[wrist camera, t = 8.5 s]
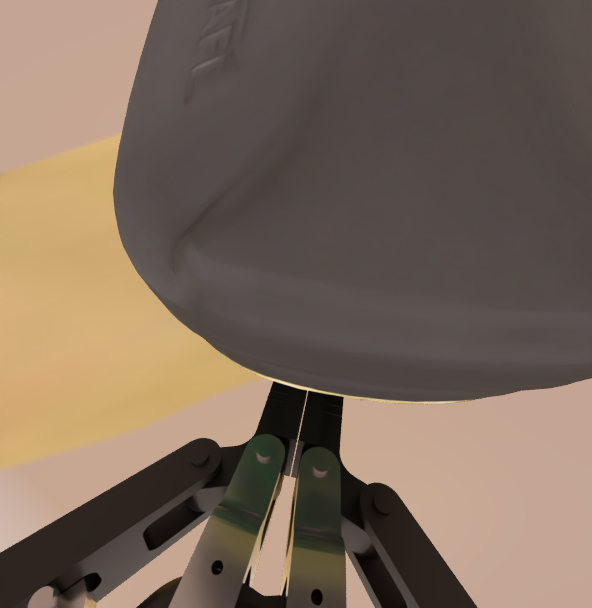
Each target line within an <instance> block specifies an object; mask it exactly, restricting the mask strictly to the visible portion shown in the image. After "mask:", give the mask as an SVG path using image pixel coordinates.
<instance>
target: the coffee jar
mask: <svg viewBox="0 0 592 608" xmlns="http://www.w3.org/2000/svg"><path fill="white" fill-rule="evenodd" d="M113 197H114V207H115V215H116V220H117V225H118V230H119V234H120V237H121V241H122V244H123V247H124V249H125V250H126V252H127V254H128V256H129V258H130V260H131V262H132V264H133V266H134V267H135V269H136V271H137V272H138V274H139V275H140V276H141V278H142V279H143V280H144V281H145V283H146V284H147V285H148V286H149V288H150V289H151V290H152V291H153V292H154V294H155V295H156V296H157V297H158V298H159V299H160V301H161V302H162V303H163V304H164V305H165V306H166V308H167V309H168V310H169V311H170V312H171V313H172V314H173V315H174V316H175V317H176V318H177V319H178V320H179V321H180V322H182V323H183V324H184V325H185V326H187V327H188V328H189V329H190V330H192V331H193V332H195V333H196V334H198V335H200V336H201V337H203V338H204V339H205V340H206V341H207V342H208V343H210V344H211V345H212V346H213V347H214V348H215V349H216V350H218V351H219V352H220V353H222V354H223V355H224V356H225V357H226V358H228V359H229V360H231V361H232V362H234V363H235V364H237V365H238V366H240V367H241V368H243V369H245V370H246V371H249V372H251V373H253V374H256V375H258V376H261V377H263V378H266V379H268V380H271V381H275V382H278V383H281V384H284V385H288V386H291V387H295V388H298V389H303V390H308V391H313V392H319V393H324V394H330V395H336V396H342V397H348V398H354V399H360V400H369V401H378V402H388V403H398V404H447V403H458V402H465V401H471V400H475V399H480V398H485V397H491V396H499V395H505V394H509V393H513V392H517V391H521V390H534V389H545V388H553V387H558V386H563V385H568V384H571V383H574V382H577V381H582V380H585V379H590V378H592V0H158V3H157V6H156V9H155V12H154V15H153V18H152V21H151V25H150V28H149V32H148V34H147V38H146V41H145V45H144V48H143V51H142V55H141V58H140V62H139V66H138V70H137V73H136V76H135V80H134V84H133V88H132V92H131V95H130V99H129V103H128V108H127V113H126V117H125V122H124V127H123V131H122V136H121V140H120V145H119V150H118V157H117V163H116V169H115V177H114V188H113Z"/></svg>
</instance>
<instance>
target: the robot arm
mask: <svg viewBox="0 0 592 608" xmlns="http://www.w3.org/2000/svg"><path fill="white" fill-rule="evenodd" d="M306 394H307V390H303V389H298V388H295V387H291V386H288V385H284V384H281V383H278V382H275V381H273V384H272V387H271V390H270V393H269V396H268V399H267V402H266V405H265V408H264V411H263V413H262V416H261V419H260V422H259V425H258V428H257V430H256V433H255V434H254V436H253V437H252V438H251V439H250V440H249V441H247V442H246V443H244V444H242V445H239V446H232V447H219V445H218V444H217V443H216V442H215V441H213V440H211V439H207V438H200V439H196V440H193V441H191V442H189V443H188V444H186V445H184V446H183V447H181V448H179V449H177V450H176V451H174V452H172V453H171V454H169V455H167V456H166V457H164V458H162V459H160V460H159V461H157V462H155V463H154V464H152V465H150V466H148V467H147V468H145V469H143V470H141V471H140V472H138V473H137V474H135V475H133V476H131V477H129V478H128V479H126V480H124V481H123V482H121V483H119V484H118V485H116V486H114V487H112V488H111V489H109V490H107V491H106V492H104V493H102V494H100V495H99V496H97V497H95V498H94V499H92V500H90V501H88V502H87V503H85V504H83V505H82V506H80V507H78V508H76V509H75V510H73V511H71V512H69V513H68V514H66V515H64V516H63V517H61V518H59V519H57V520H56V521H54V522H52V523H51V524H49V525H47V526H45V527H44V528H42V529H40V530H39V531H37V532H35V533H33V534H32V535H30V536H29V537H27V538H25V539H23V540H21V541H20V542H18V543H16V544H15V545H13V546H11V547H9V548H8V549H6V550H4V551H3V552H1V553H0V608H96V603H97V602H98V601H99V600H101V599H102V598H103V597H104V596H106V595H107V594H108V593H110V592H111V591H112V590H114V589H115V588H116V587H118V586H119V585H120V584H122V583H123V582H124V581H126V580H127V579H128V578H129V577H131V576H132V575H133V574H135V573H136V572H137V571H139V570H140V569H141V568H142V567H144V566H145V565H146V564H148V563H149V562H150V561H152V560H153V559H154V558H156V557H157V556H158V555H160V554H161V553H162V552H163V551H165V550H166V549H167V548H169V547H170V546H171V545H172V544H174V543H175V542H177V541H178V540H179V539H180V538H182V537H183V536H184V535H186V534H187V533H188V532H190V531H191V530H192V529H193V528H195V527H196V526H197V525H199V524H200V523H201V522H203V521H204V520H205V519H207V518H208V517H209V516H210V518H209V520H208V522H207V525H206V527H205V529H204V531H203V533H202V535H201V538H200V540H199V542H198V544H197V546H196V549H195V551H194V553H193V555H192V557H191V560H190V562H189V564H188V566H187V568H186V570H185V573H184V575H183V576H182V577H179V578H176V579H174V580H172V581H170V582H168V583H166V584H165V585H163V586H162V587H160V588H159V589H158V590H157V591H155V592H154V593H153V594H152V595H150V596H149V597H148V598H147V599H146V600H144V601H143V602H142V603H141V604H140V605H139V606H138V607H136V608H346V559H345V550H346V552H347V554H348V556H349V558H350V559H351V561H352V563H353V565H354V567H355V569H356V571H357V573H358V575H359V577H360V579H361V581H362V583H363V585H364V587H365V589H366V591H367V593H368V595H369V597H370V599H371V601H372V602H373V604H374V606H375V608H477V606H476V605H475V604H474V602H473V601H472V599H471V598H470V596H469V595H468V594H467V592H466V591H465V589H464V588H463V586H462V585H461V584H460V582H459V581H458V579H457V578H456V576H455V575H454V574H453V572H452V571H451V570H450V568H449V567H448V565H447V564H446V562H445V561H444V560H443V558H442V557H441V555H440V554H439V552H438V551H437V550H436V548H435V547H434V545H433V544H432V543H431V541H430V540H429V538H428V537H427V536H426V534H425V533H424V531H423V530H422V528H421V527H420V526H419V524H418V523H417V521H416V520H415V519H414V517H413V516H412V514H411V513H410V512H409V510H408V509H407V507H406V506H405V504H404V503H403V501H402V500H401V499H400V497H399V496H398V495H397V493H396V492H395V491H394V490H393V489H391V488H390V487H389V486H387V485H384V484H382V483H371V484H368V485H367V484H365V483H364V482H362V481H361V480H359V479H357V478H356V477H354V476H353V475H351V474H350V473H349V472H348V471H347V470H346V468H345V467H344V465H343V464H342V461H341V458H340V453H339V451H340V436H341V423H342V410H343V409H342V408H343V398H344V397H342V396H336V395H330V394H324V393H319V392H313V391H308V396H307V401H306V406H305V411H304V415H303V420H302V425H301V431H300V435H299V440H298V445H297V450H296V455H295V460H294V465H293V470H292V475H291V477H295V478H296V482H295V488H294V493H293V497H292V503H291V512H290V520H289V528H288V537H287V545H286V554H285V562H284V569H283V575H282V581H281V589H280V595H278V596H263V595H261V594H260V593H258V592H257V591H255V590H254V589H253V588H252V584H253V581H254V578H255V574H256V570H257V567H258V563H259V558H260V555H261V551H262V548H263V544H264V541H265V538H266V535H267V531H268V528H269V525H270V521H271V518H272V515H273V512H274V508H275V505H276V502H277V498H278V496H279V494H280V491H281V487H282V482H283V478H284V475H286V476H289V475H290V471H291V466H292V461H293V456H294V452H295V447H296V442H297V438H298V433H299V427H300V423H301V418H302V414H303V409H304V404H305V399H306Z"/></svg>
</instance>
